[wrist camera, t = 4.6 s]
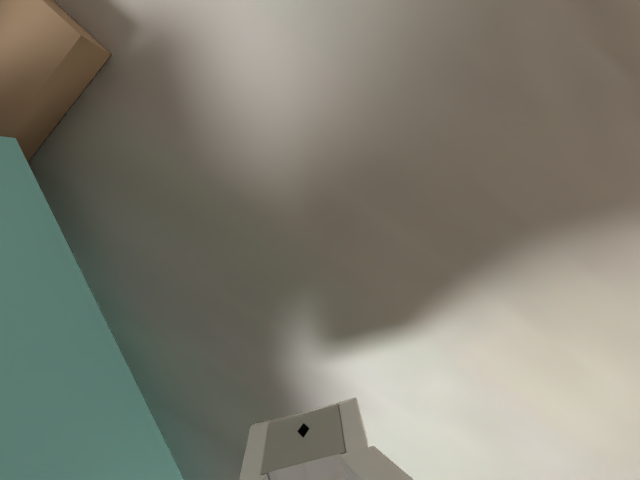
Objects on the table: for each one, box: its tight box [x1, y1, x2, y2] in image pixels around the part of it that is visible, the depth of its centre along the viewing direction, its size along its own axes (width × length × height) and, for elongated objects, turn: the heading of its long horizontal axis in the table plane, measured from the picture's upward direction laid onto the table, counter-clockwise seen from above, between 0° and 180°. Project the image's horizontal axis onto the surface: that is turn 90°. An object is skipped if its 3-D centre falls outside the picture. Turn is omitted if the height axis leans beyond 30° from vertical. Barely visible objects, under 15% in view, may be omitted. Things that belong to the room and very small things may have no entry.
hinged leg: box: [0, 136, 184, 480], centre depth 7 cm, size 14×3×4 cm, turn 16°
